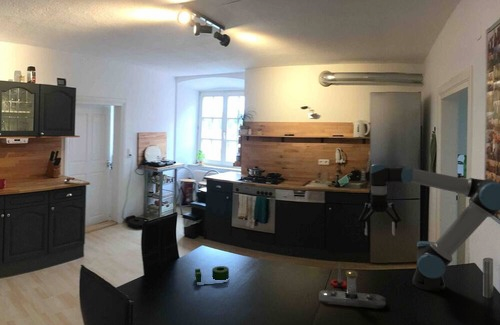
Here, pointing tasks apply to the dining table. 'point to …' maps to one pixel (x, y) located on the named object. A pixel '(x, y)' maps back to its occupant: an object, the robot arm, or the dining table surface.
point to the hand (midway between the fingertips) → (379, 234)
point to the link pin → (351, 284)
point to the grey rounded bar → (360, 300)
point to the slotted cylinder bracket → (215, 273)
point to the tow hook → (339, 280)
